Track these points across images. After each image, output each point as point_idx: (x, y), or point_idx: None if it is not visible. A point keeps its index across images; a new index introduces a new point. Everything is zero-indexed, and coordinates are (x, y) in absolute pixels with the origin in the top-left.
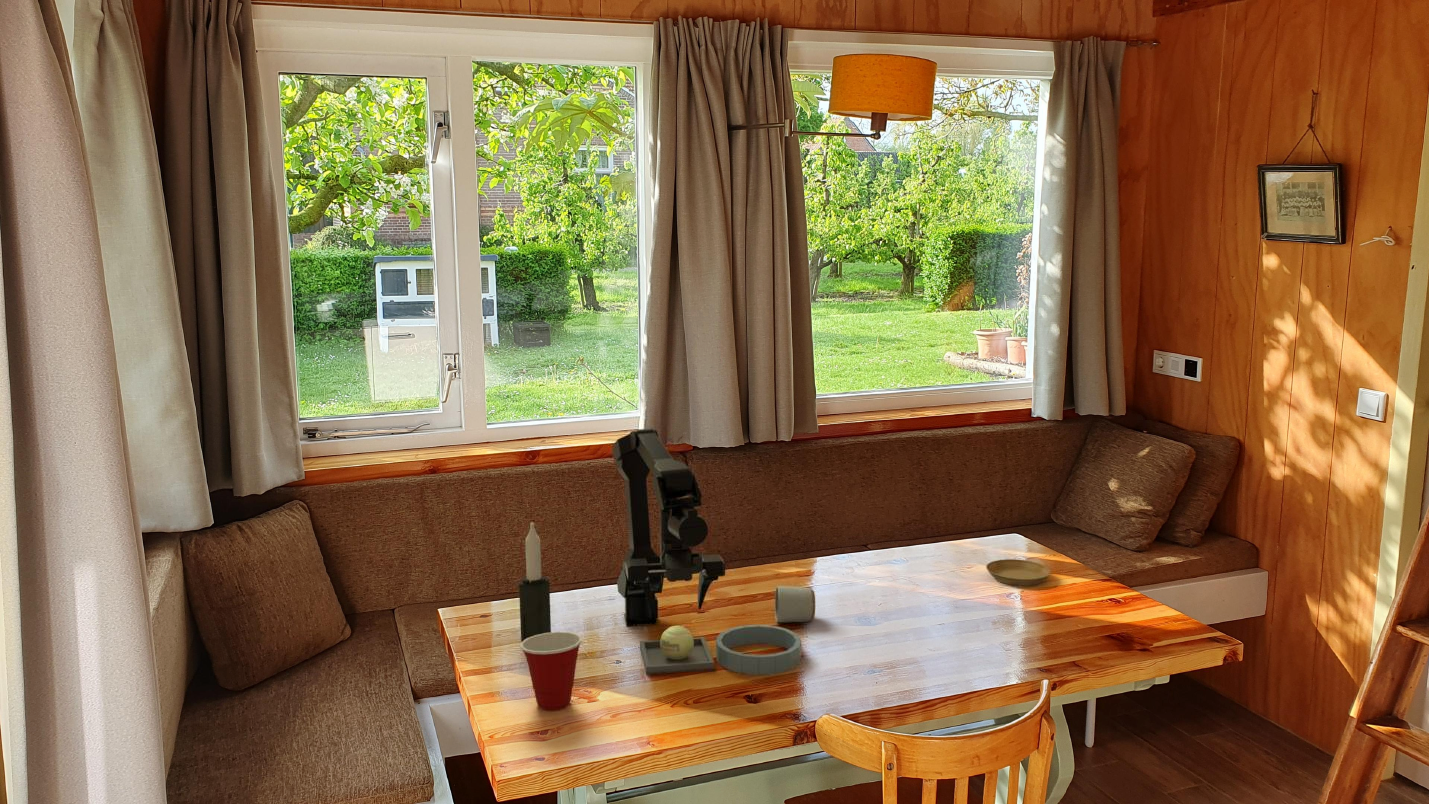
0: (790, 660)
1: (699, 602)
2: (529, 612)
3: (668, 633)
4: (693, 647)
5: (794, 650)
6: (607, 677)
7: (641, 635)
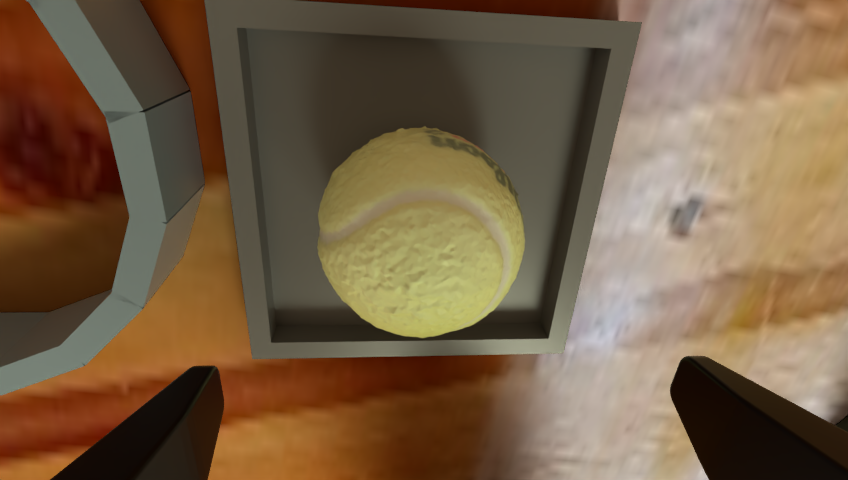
0: None
1: (174, 419)
2: None
3: (497, 235)
4: (316, 293)
5: None
6: (811, 36)
7: (510, 438)
